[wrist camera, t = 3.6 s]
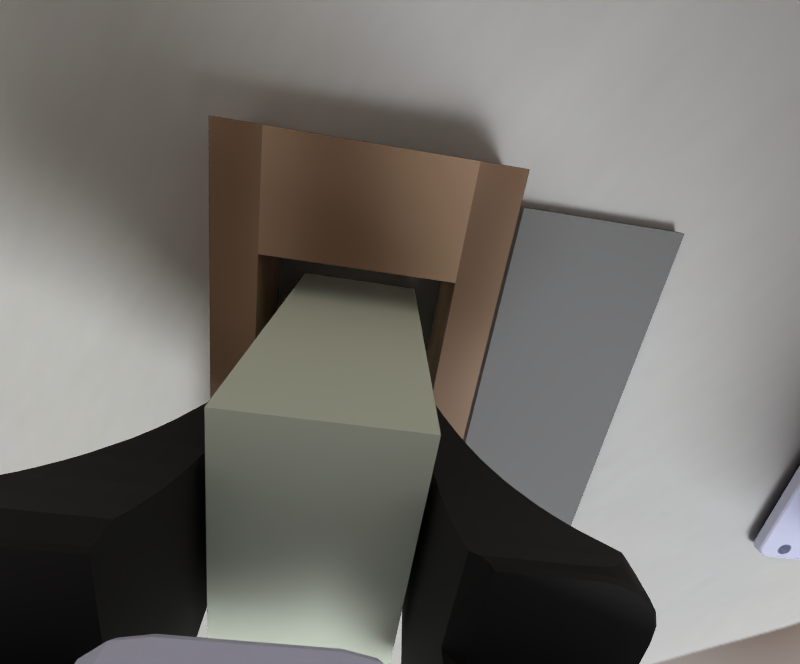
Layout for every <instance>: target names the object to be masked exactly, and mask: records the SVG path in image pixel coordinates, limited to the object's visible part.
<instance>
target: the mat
mask: <svg viewBox="0 0 800 664" xmlns="http://www.w3.org/2000/svg"><path fill="white" fill-rule="evenodd" d="M683 236H684V234H683V233H679V232H675V231H669V230H662V229H656V228H650V227H644V226H638V225H631V224H625V223H619V222H613V221H607V220H600V219H594V218H588V217H582V216H576V215H569V214H563V213H557V212H551V211H545V210H538V209H532V208H526V207H520V210H519V215H518V219H517V223H516V227H515V231H514V235H513V239H512V243H511V247H510V251H509V255H508V259H507V263H506V267H505V271H504V275H503V279H502V283H501V287H500V291H499V296H498V300H497V304H496V308H495V312H494V316H493V320H492V324H491V328H490V332H489V336H488V340H487V344H486V348H485V352H484V356H483V360H482V364H481V368H480V372H479V377H478V381H477V385H476V389H475V393H474V397H473V401H472V405H471V409H470V413H469V417H468V421H467V425H466V429H465V433H464V437H463V440H464V442H465V443H466V444H467V445H468V446H469V447H470V448H471V449H472V450H473V451H474V452H475V453H476V454H477V456H478V457H479V458H480V459H481V460H482V461H483V462H485V463H486V464H487V465H488V466H489V467H490V468H491V469H492V470H493V471H494V472H496V473H497V474H498V475H499V476H500V477H501V478H502V479H503V480H505V481H506V482H507V483H508V484H510V485H511V486H512V487H513V488H515V489H516V490H517V491H519V492H520V493H521V494H523V495H524V496H525V497H527V498H528V499H530V500H531V501H532V502H534V503H535V504H537V505H538V506H540V507H541V508H543V509H544V510H546V511H547V512H549V513H550V514H552V515H553V516H555V517H557V518H558V519H560V520H562V521H563V522H565V523H567V524H568V525H570V526H571V524H572V521H573V519H574V516H575V514H576V511H577V508H578V506H579V503H580V501H581V498H582V496H583V493H584V490H585V488H586V485H587V483H588V480H589V478H590V475H591V472H592V470H593V467H594V465H595V462H596V460H597V457H598V454H599V452H600V449H601V447H602V444H603V442H604V439H605V436H606V434H607V431H608V429H609V426H610V424H611V421H612V418H613V416H614V413H615V411H616V408H617V406H618V403H619V400H620V398H621V395H622V393H623V390H624V388H625V385H626V382H627V380H628V377H629V375H630V372H631V370H632V367H633V365H634V362H635V359H636V357H637V354H638V352H639V349H640V347H641V344H642V341H643V339H644V336H645V334H646V331H647V329H648V326H649V323H650V321H651V318H652V316H653V313H654V311H655V308H656V305H657V303H658V300H659V298H660V295H661V293H662V290H663V287H664V285H665V282H666V280H667V277H668V275H669V272H670V269H671V267H672V264H673V262H674V259H675V257H676V254H677V251H678V249H679V246H680V244H681V241H682V239H683Z"/></svg>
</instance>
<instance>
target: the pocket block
mask: <svg viewBox="0 0 800 664" xmlns="http://www.w3.org/2000/svg"><path fill="white" fill-rule="evenodd" d="M529 170H530V169H524V168H518V167H512V166H506V165H500V164H495V163H489V162H483V161H477V160H471V159H465V158H459V157H453V156H447V155H441V154H435V153H429V152H423V151H417V150H411V149H405V148H399V147H393V146H387V145H381V144H375V143H369V142H364V141H358V140H352V139H346V138H340V137H334V136H328V135H322V134H316V133H310V132H304V131H298V130H292V129H286V128H280V127H274V126H268V125H262V124H256V123H250V122H244V121H238V120H232V119H227V118H221V117H215V116H209V243H210V389H211V398H212V396H213V395H214V394H215V392H216V391H217V390H218V388H219V387H220V386H221V384H222V383H223V382H224V380H225V379H226V378H227V376H228V375H229V374H230V372H231V371H232V370H233V368H234V367H235V366H236V364H237V363H238V362H239V360H240V359H241V358H242V356H243V355H244V354H245V352H246V351H247V350H248V349H249V347H250V346H251V345H252V343H253V342H254V341H255V339H256V338H257V337H258V335H259V334H260V333H261V331H262V330H263V329H264V327H265V326H266V325H267V323H268V322H269V321H270V319H271V318H272V317H273V315H274V314H275V313H276V311H277V307H278V288H279V269H280V257H281V258H287V259H294V260H301V261H308V262H315V263H322V264H329V265H335V266H342V267H349V268H356V269H363V270H370V271H377V272H383V273H390V274H397V275H404V276H411V277H418V278H425V279H431V280H438V281H441V282H440V288H439V293H438V298H437V303H436V308H435V313H434V319H433V324H432V329H431V334H430V339H429V344H428V349H427V355H426V356H427V361H428V367H429V372H430V378H431V383H432V389H433V394H434V400H435V404H436V406H437V407H438V409H439V410H440V411H441V413H442V414H443V415H444V417H445V418H446V419H447V421H448V422H449V423H450V425H451V426H452V427H453V428H454V430H455V431H456V432H457V433H458V435H459V436H460V437H461V438H462V439H463V437H464V433H465V429H466V425H467V421H468V417H469V413H470V409H471V405H472V401H473V397H474V393H475V389H476V385H477V381H478V377H479V372H480V368H481V364H482V360H483V356H484V352H485V348H486V344H487V340H488V336H489V332H490V328H491V324H492V320H493V316H494V312H495V308H496V304H497V300H498V296H499V291H500V287H501V283H502V279H503V275H504V271H505V267H506V263H507V259H508V255H509V251H510V247H511V243H512V239H513V235H514V231H515V227H516V223H517V219H518V215H519V210H520V206H521V202H522V198H523V194H524V190H525V186H526V182H527V178H528V174H529Z"/></svg>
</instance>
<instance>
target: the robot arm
mask: <svg viewBox="0 0 800 664" xmlns="http://www.w3.org/2000/svg"><path fill="white" fill-rule="evenodd" d="M207 403H208V402H207ZM207 403H205V404H204V405H202V406H200V407H198V408H196V409H194V410H192V411H190V412H189V413H187V414H185V415H183V416H181V417H179V418H177V419H175V420H173V421H171V422H169V423H167V424H165V425H162V426H160V427H158V428H156V429H153V430H151V431H149V432H146V433H144V434H141V435H139V436H136V437H134V438H131V439H129V440H126V441H123V442H120V443H117V444H114V445H111V446H108V447H105V448H102V449H99V450H96V451H93V452H90V453H87V454H84V455H81V456H77V457H73V458H70V459H66V460H63V461H59V462H55V463H51V464H47V465H43V466H39V467H35V468H31V469H27V470H22V471H18V472H13V473H8V474H3V475H0V664H384V663H383V662H382V661H380V660H379V659H378V658H375V657H372V656H368V655H364V654H360V653H356V652H353V651H349V650H345V649H339V648H326V647H314V646H301V645H289V644H276V643H264V642H251V641H239V640H226V639H214V638H201V637H197V634H198V631H199V628H200V625H201V622H202V619H203V617H204V614H205V611H206V608H207V565H206V488H205V411H204V407H205V406H206V404H207ZM435 405H436V404H435ZM436 411H437V416H438V422H439V427H440V433H441V437H440V442H439V446H438V451H437V455H436V459H435V464H434V468H433V473H432V477H431V482H430V486H429V491H428V495H427V500H426V504H425V509H424V513H423V518H422V522H421V527H420V531H419V535H418V540H417V544H416V549H415V553H414V558H413V562H412V567H411V571H410V576H409V580H408V585H407V589H406V594H405V598H404V603H403V607H402V657H401V664H639V663H640V661H641V659H642V657H643V656H644V654H645V652H646V650H647V648H648V646H649V645H650V642H651V640H652V637H653V634H654V631H655V628H656V611H655V609H654V607H653V605H652V603H651V601H650V599H649V597H648V595H647V593H646V592H645V590H644V588H643V586H642V585H641V583H640V581H639V580H638V578H637V576H636V574H635V573H634V571H633V570H632V568H631V566H630V565H629V563H628V561H627V560H626V558H625V557H624V555H623V554H622V553H621V552H619V551H617V550H615V549H613V548H612V547H610V546H608V545H606V544H604V543H602V542H600V541H598V540H596V539H594V538H592V537H590V536H588V535H586V534H584V533H582V532H580V531H579V530H577V529H575V528H573V527H572V526H570V525H568V524H567V523H565V522H563V521H562V520H560V519H558V518H557V517H555V516H553V515H552V514H550V513H549V512H547V511H546V510H544V509H543V508H541V507H540V506H538V505H537V504H535V503H534V502H532V501H531V500H530V499H528V498H527V497H525V496H524V495H523V494H521V493H520V492H519V491H517V490H516V489H515V488H513V487H512V486H511V485H510V484H508V483H507V482H506V481H505V480H503V479H502V478H501V477H500V476H499V475H498V474H497V473H496V472H494V471H493V470H492V469H491V468H490V467H489V466H488V465H487V464H486V463H485V462H483V461H482V460H481V459H480V458H479V457H478V456H477V454H476V453H475V452H474V451H473V450H472V449H471V448H470V447H469V446H468V445H467V444H466V443H465V442H464V440H463V439H462V438H461V437H460V436H459V435H458V433H457V432H456V431H455V430H454V428H453V427H452V426H451V425H450V423H449V422H448V421H447V419H446V418H445V417H444V415H443V414H442V413H441V411H440V410H439V409H438V407H437V406H436ZM754 546H755V548H756V549H757V550H758V551H759V552H760V553H761V554H762V555H764V556H770V557H779V558H789V559H799V560H800V466H799V468H798V469H797V471H796V473H795V474H794V476H793V478H792V479H791V481H790V482H789V484H788V486H787V487H786V489H785V491H784V492H783V494H782V496H781V497H780V499H779V501H778V502H777V504H776V506H775V507H774V509H773V511H772V512H771V514H770V516H769V517H768V519H767V521H766V522H765V524H764V526H763V527H762V529H761V531H760V532H759V534H758V536H757V537H756V539H755V542H754Z"/></svg>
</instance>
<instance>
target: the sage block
mask: <svg viewBox="0 0 800 664" xmlns="http://www.w3.org/2000/svg"><path fill="white" fill-rule="evenodd" d="M204 411H205V488H206V565H207V638H214V639H226V640H239V641H251V642H264V643H276V644H289V645H301V646H314V647H326V648H339V649H345V650H349V651H353V652H356V653H360V654H364V655H368V656H372V657H375V658H378V659H379V660H380V661H382V662H383V663H384V664H390V661H391V656H392V652H393V647H394V643H395V638H396V634H397V629H398V625H399V620H400V616H401V611H402V607H403V603H404V598H405V594H406V589H407V585H408V580H409V576H410V571H411V567H412V562H413V558H414V553H415V549H416V544H417V540H418V535H419V531H420V527H421V522H422V518H423V513H424V509H425V504H426V500H427V495H428V491H429V486H430V482H431V477H432V473H433V468H434V464H435V459H436V455H437V451H438V446H439V442H440V437H441V433H440V427H439V422H438V416H437V411H436V405H435V400H434V394H433V389H432V383H431V378H430V372H429V367H428V361H427V356H426V350H425V345H424V339H423V334H422V328H421V323H420V317H419V312H418V307H417V301H416V296H415V290H414V289H413V288H406V287H399V286H392V285H385V284H378V283H371V282H364V281H357V280H350V279H343V278H336V277H329V276H322V275H315V274H308V273H305V274H304V275H303V277H302V278H301V279H300V281H299V282H298V283H297V285H296V286H295V287H294V289H293V290H292V291H291V293H290V294H289V295H288V297H287V298H286V299H285V301H284V302H283V303H282V305H281V306H280V307H279V309H278V310H277V311H276V313H275V314H274V315H273V317H272V318H271V319H270V321H269V322H268V323H267V325H266V326H265V327H264V329H263V330H262V331H261V333H260V334H259V335H258V337H257V338H256V339H255V341H254V342H253V343H252V345H251V346H250V347H249V349H248V350H247V351H246V352H245V354H244V355H243V356H242V358H241V359H240V360H239V362H238V363H237V364H236V366H235V367H234V368H233V370H232V371H231V372H230V374H229V375H228V376H227V378H226V379H225V380H224V382H223V383H222V384H221V386H220V387H219V388H218V390H217V391H216V392H215V394H214V395H213V396H212V398H211V399H210V400H209V402H208V403H207V404H206V406H205V407H204Z"/></svg>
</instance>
